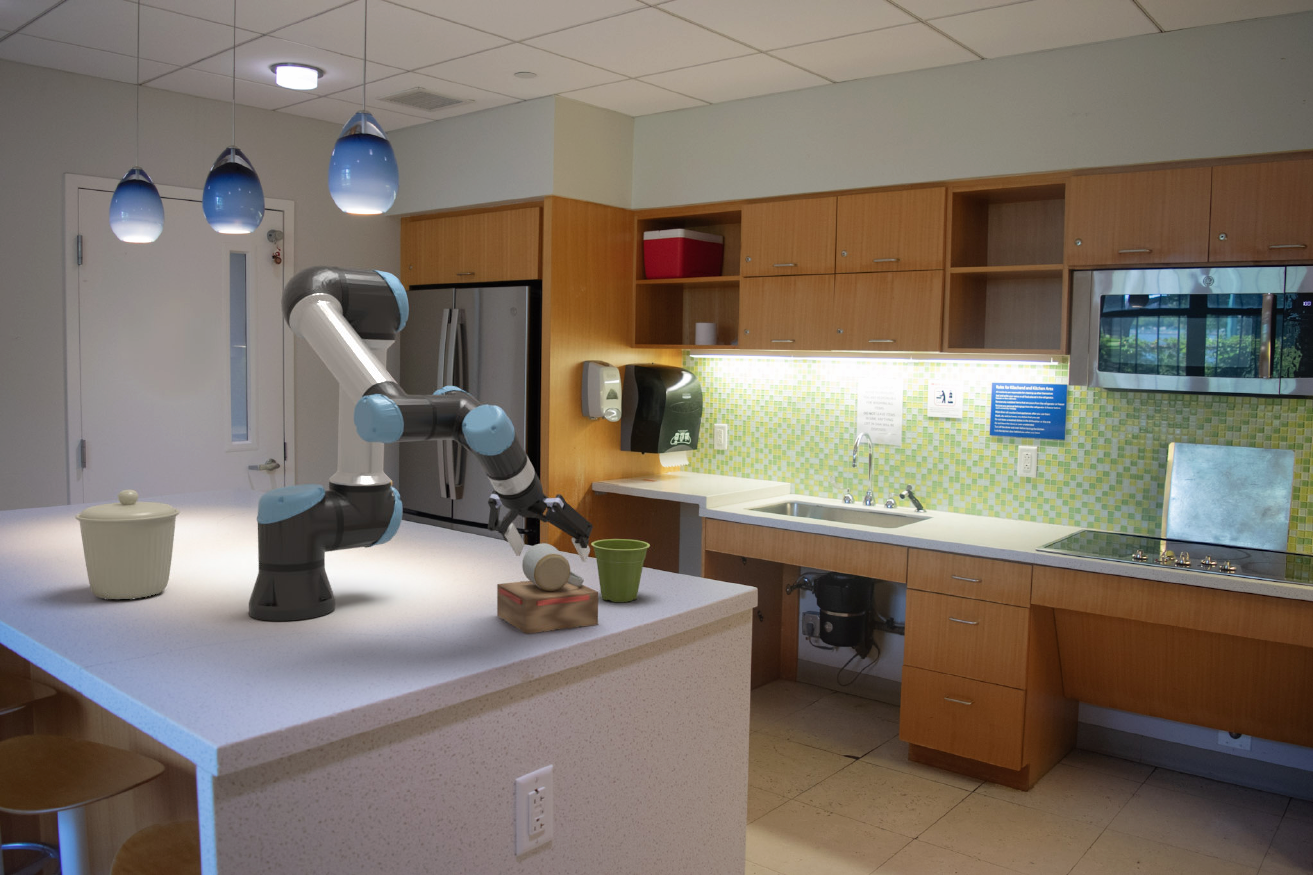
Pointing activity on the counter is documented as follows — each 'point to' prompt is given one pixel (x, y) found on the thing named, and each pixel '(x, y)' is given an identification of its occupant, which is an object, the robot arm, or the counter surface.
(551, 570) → the ceramic mug
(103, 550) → the canister
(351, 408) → the robot arm
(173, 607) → the counter surface
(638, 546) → the plant pot
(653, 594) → the counter surface
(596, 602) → the wooden box
